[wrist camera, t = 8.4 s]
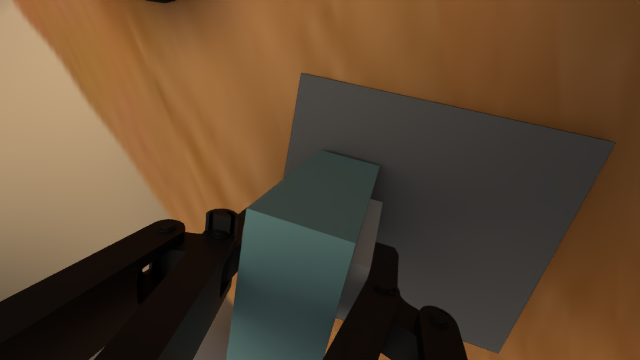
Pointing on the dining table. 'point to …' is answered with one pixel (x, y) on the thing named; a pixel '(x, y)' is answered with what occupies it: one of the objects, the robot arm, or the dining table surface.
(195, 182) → the dining table surface
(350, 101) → the mat
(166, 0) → the cup
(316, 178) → the card box
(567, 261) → the dining table surface
